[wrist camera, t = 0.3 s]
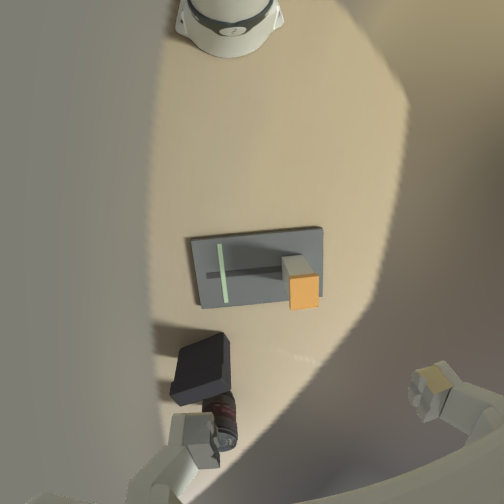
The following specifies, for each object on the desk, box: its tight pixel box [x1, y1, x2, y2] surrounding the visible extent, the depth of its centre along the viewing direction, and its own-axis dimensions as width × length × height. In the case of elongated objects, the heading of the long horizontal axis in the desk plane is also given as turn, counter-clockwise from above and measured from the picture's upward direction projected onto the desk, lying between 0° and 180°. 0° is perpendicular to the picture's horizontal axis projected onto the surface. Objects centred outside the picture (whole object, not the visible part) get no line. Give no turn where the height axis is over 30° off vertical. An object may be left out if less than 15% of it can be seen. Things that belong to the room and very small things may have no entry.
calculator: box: [169, 332, 231, 406], centre depth 58 cm, size 11×4×15 cm, turn 116°
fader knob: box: [282, 255, 319, 310], centre depth 54 cm, size 6×5×10 cm
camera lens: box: [202, 391, 238, 452], centre depth 64 cm, size 8×8×15 cm
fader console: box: [191, 227, 323, 309], centre depth 59 cm, size 14×24×1 cm, turn 95°
